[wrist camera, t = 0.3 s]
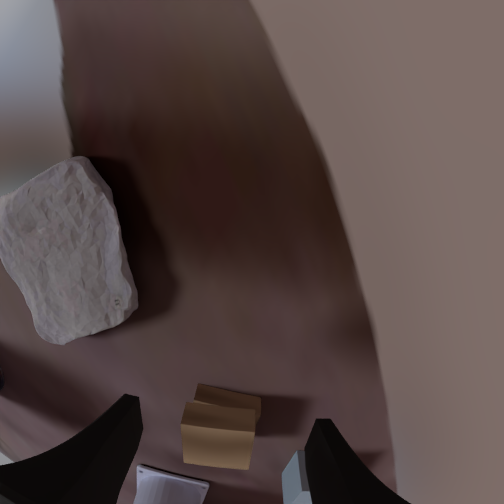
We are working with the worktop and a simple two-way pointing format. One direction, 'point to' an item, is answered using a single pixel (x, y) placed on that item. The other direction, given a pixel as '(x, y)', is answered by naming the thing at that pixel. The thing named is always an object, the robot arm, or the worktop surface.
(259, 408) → the tower bottom slab
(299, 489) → the blue block
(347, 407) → the worktop surface
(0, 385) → the storage jar
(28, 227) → the stone block
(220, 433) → the tower top slab
